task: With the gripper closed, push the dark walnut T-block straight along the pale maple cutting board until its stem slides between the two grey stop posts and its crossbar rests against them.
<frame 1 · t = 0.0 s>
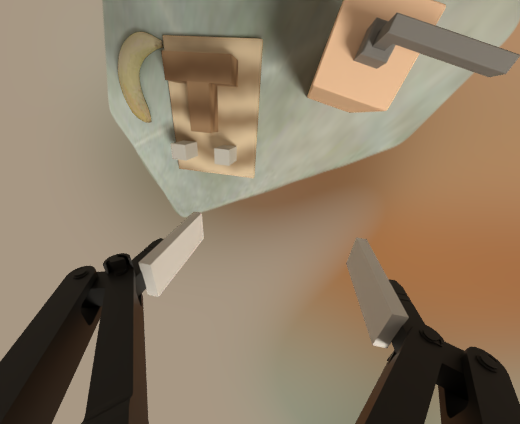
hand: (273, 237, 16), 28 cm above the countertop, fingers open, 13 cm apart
posts: (210, 150, 42), resting on board
pump bottle: (351, 82, 33), on the countertop
fruit: (148, 82, 39), on the countertop
board: (215, 115, 39), on the countertop
tee: (207, 85, 36), point 1 cm above the countertop, touching board
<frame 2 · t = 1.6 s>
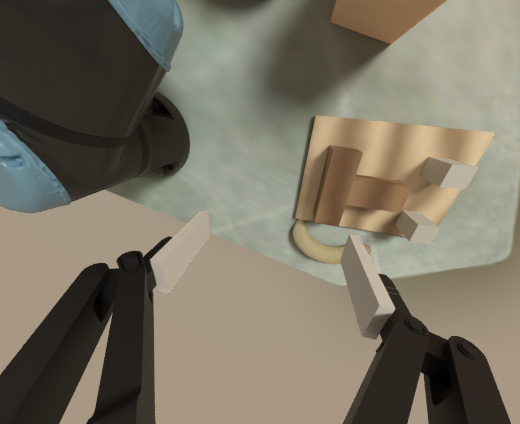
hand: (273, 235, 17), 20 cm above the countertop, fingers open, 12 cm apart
posts: (420, 195, 31), resting on board
fruit: (328, 238, 39), on the countertop, touching board
board: (375, 181, 32), on the countertop
tee: (344, 184, 32), point 1 cm above the countertop, touching board
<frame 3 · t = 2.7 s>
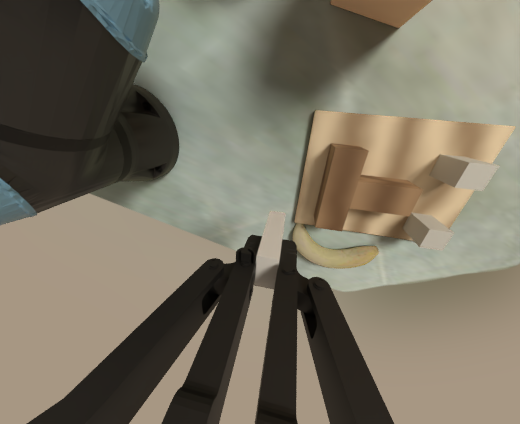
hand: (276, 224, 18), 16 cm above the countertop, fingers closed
posts: (430, 196, 28), resting on board
fruit: (331, 240, 37), on the countertop
board: (380, 181, 30), on the countertop
tee: (347, 185, 30), point 1 cm above the countertop, touching board
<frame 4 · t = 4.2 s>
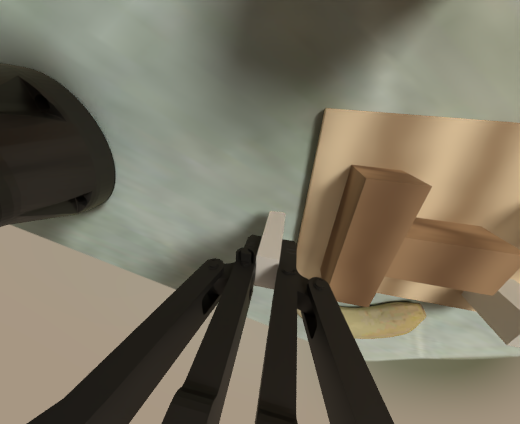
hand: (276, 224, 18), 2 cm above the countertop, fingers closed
posts: (517, 252, 17), resting on board
fruit: (348, 295, 25), on the countertop
board: (430, 224, 18), on the countertop
tee: (375, 230, 18), point 1 cm above the countertop, touching board
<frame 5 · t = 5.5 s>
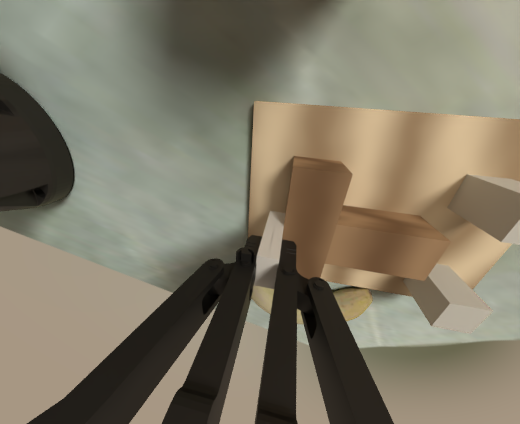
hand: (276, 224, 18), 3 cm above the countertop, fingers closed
posts: (447, 238, 18), resting on board
fruit: (304, 283, 25), on the countertop
board: (368, 213, 19), on the countertop
tee: (324, 221, 19), point 1 cm above the countertop, touching gripper
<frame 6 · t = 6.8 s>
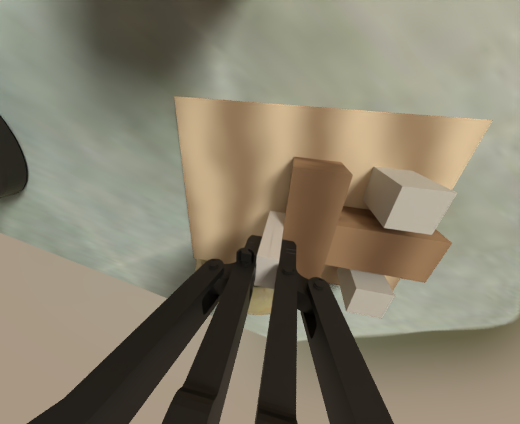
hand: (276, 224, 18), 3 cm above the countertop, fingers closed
posts: (368, 229, 18), resting on board
fruit: (253, 274, 26), on the countertop
board: (298, 205, 20), on the countertop
tee: (324, 221, 19), point 1 cm above the countertop, touching board, gripper
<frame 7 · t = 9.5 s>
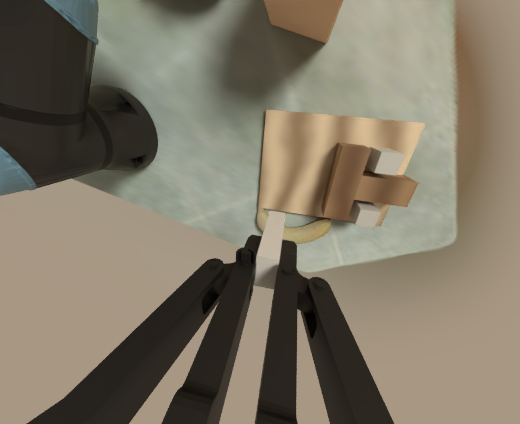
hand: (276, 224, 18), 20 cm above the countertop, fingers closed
posts: (367, 183, 33), resting on board
fruit: (293, 220, 41), on the countertop, touching board
board: (327, 171, 35), on the countertop
tee: (351, 180, 34), point 1 cm above the countertop, touching board
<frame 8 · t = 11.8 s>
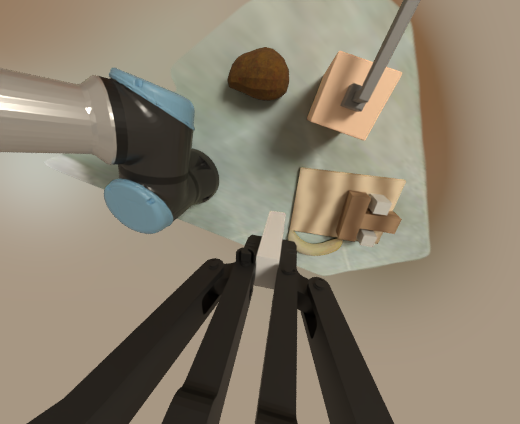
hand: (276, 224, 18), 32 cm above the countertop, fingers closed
posts: (368, 215, 49), resting on board
potato: (263, 77, 40), on the countertop
pump bottle: (338, 93, 39), on the countertop
fruit: (314, 238, 56), on the countertop
board: (340, 206, 50), on the countertop
tee: (357, 213, 49), point 1 cm above the countertop, touching board
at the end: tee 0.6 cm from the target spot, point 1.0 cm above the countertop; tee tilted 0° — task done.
